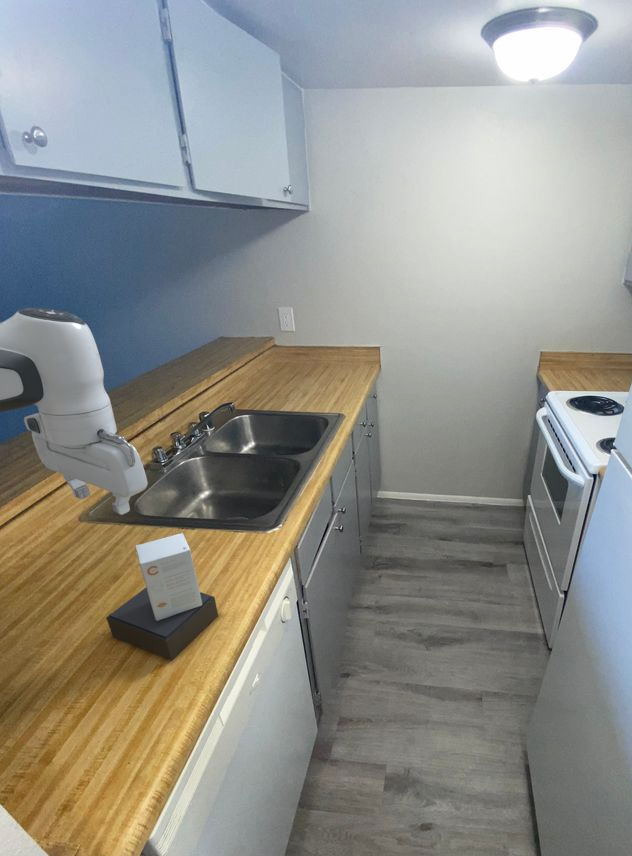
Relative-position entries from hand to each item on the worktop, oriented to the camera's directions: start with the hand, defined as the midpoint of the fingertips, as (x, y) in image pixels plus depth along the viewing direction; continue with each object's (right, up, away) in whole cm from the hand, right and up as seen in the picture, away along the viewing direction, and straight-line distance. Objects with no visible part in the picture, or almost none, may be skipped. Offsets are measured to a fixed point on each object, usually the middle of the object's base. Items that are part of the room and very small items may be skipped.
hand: (102, 504), depth 76 cm
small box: (+6, -20, +12) cm, 24 cm away
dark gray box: (+3, -24, +14) cm, 28 cm away
